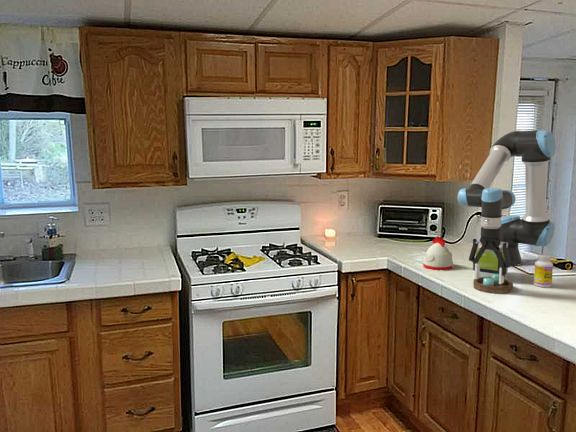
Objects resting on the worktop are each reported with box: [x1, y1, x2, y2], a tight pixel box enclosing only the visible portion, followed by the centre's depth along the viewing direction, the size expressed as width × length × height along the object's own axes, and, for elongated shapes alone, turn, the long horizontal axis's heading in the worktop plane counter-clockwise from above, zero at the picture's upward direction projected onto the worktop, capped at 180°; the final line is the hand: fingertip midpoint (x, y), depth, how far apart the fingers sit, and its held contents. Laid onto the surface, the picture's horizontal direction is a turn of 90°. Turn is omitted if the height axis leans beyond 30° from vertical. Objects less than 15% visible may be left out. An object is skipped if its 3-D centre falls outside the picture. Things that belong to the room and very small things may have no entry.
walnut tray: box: [473, 277, 514, 295], centre depth 202 cm, size 15×15×3 cm
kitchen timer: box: [422, 235, 454, 271], centre depth 235 cm, size 14×14×15 cm
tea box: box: [475, 243, 509, 277], centre depth 217 cm, size 15×10×15 cm, turn 141°
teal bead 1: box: [483, 277, 494, 286], centre depth 199 cm, size 4×4×4 cm
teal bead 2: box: [492, 274, 502, 286], centre depth 204 cm, size 4×4×4 cm
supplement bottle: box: [533, 253, 554, 288], centre depth 203 cm, size 7×7×13 cm
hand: (488, 280), depth 199 cm, fingers open, 9 cm apart
